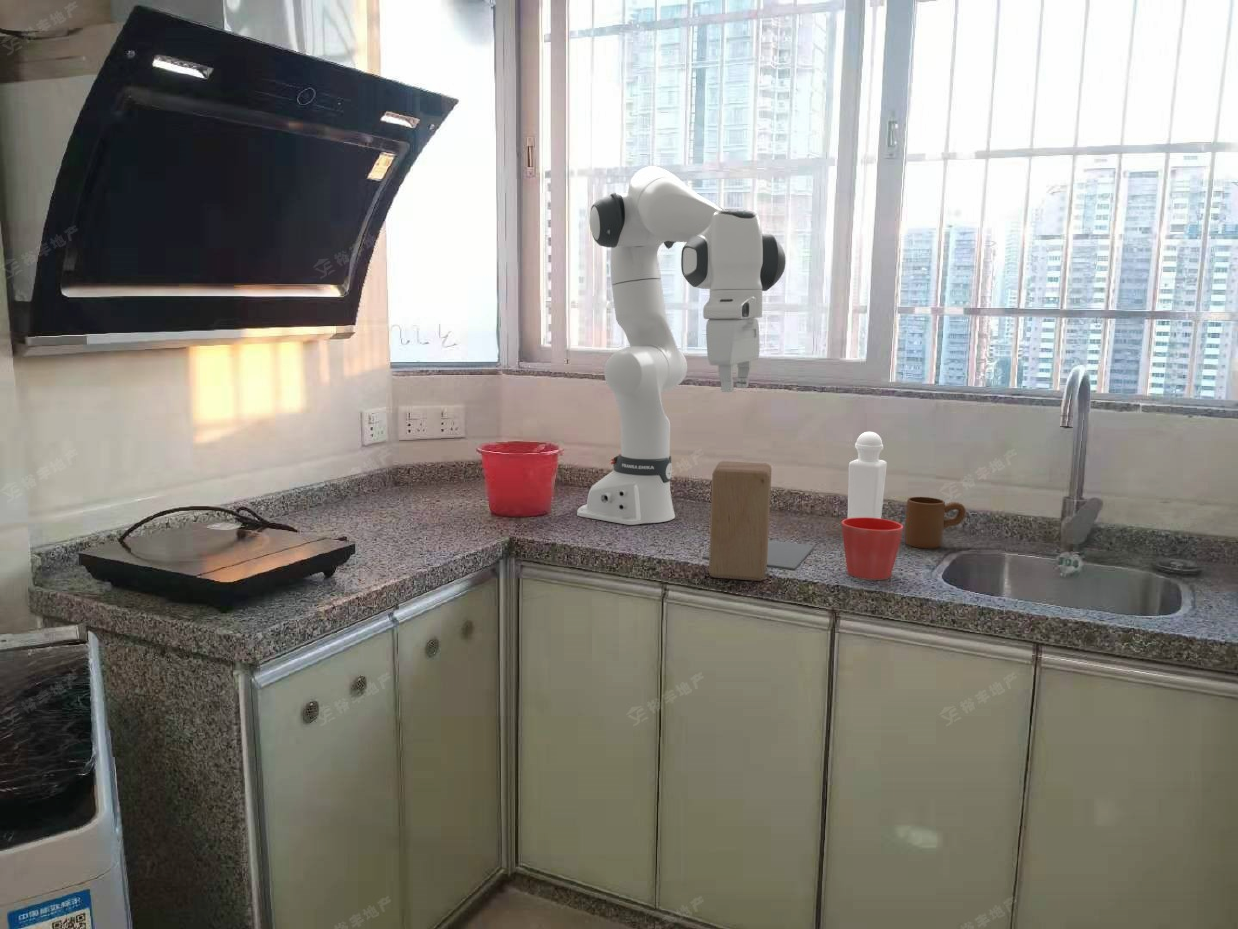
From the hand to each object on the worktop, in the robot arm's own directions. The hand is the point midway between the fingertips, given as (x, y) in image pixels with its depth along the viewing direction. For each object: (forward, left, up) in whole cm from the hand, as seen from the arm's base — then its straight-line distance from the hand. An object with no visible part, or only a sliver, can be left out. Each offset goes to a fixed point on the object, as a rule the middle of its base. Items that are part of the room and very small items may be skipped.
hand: (735, 389), depth 162 cm
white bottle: (+16, +50, -35) cm, 63 cm away
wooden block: (0, +7, -35) cm, 35 cm away
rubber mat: (0, +22, -34) cm, 41 cm away
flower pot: (+22, +17, -35) cm, 44 cm away
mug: (+31, +45, -35) cm, 64 cm away
